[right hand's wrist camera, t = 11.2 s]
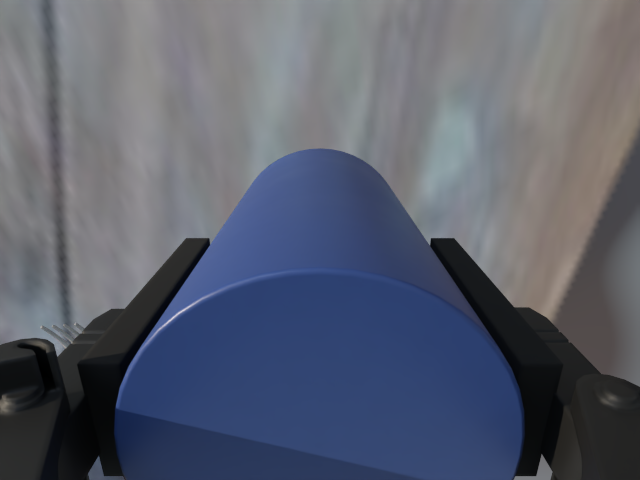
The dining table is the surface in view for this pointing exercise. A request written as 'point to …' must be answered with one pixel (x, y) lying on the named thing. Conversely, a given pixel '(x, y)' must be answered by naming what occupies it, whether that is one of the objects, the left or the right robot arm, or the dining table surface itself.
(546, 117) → the dining table surface
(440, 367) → the canister
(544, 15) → the dining table surface
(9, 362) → the right robot arm
